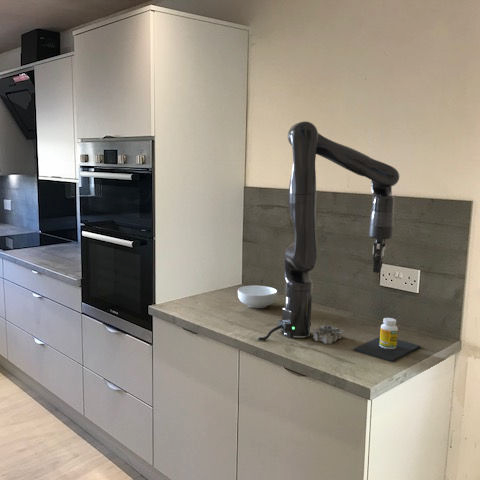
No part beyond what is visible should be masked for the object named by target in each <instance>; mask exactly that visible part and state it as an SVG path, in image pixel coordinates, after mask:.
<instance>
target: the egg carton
mask: <svg viewBox="0 0 480 480" xmlns="http://www.w3.org/2000/svg"><path fill="white" fill-rule="evenodd" d="M343 332H344V330H343V329H341V330H340V329H339V327H335V326H333V325H329V324H327V323H325V324H324V325H323V326H319V327H317V328H315V329H314V328H313V329H312V332H311V333H312V334H313V338H312V339H313V340H314V341H315V342H322V343H323V344H329V345H330V344H333V342H337V340H341V339H342V334H343Z"/></svg>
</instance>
